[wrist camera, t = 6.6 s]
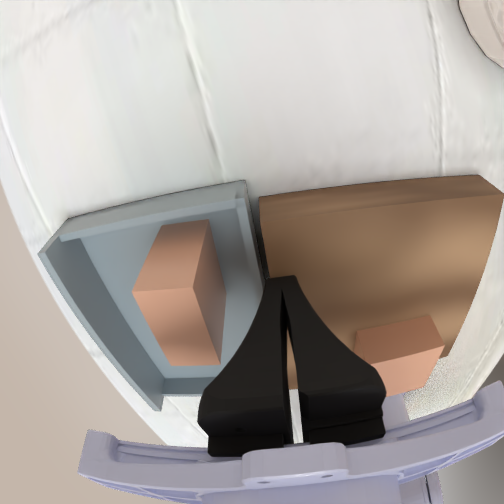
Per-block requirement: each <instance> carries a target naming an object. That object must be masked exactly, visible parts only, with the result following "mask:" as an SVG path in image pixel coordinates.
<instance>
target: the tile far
mask: <svg viewBox="0 0 504 504" xmlns="http://www.w3.org/2000/svg"><path fill="white" fill-rule="evenodd" d="M444 346H445V344H444V342H443V340H442V338H441V336H440V334H439V332H438V330H437V328H436V326H435V324H434V322H433V320H432V318H431V316H430V315H428V316H424V317H420V318H416V319H411V320H407V321H402V322H398V323H393V324H389V325H384V326H379V327H374V328H369V329H364V330H358V331H357V333H356V340H355V348H354V353H355V354H356V355H358V356H359V357H360V358H361V359H363V360H364V361H366V362H367V363H368V364H370V365H371V366H373V367H374V368H376V370H377V371H378V373H379V375H380V377H381V378H382V380H383V383H384V385H385V387H386V391H387V394H386V397H389V396H393V395H397V394H400V393H404V392H408V391H411V390H415V389H418V388H422V387H424V385H425V383H426V381H427V380H428V378H429V376H430V374H431V372H432V370H433V368H434V367H435V365H436V363H437V361H438V359H439V357H440V355H441V353H442V351H443V348H444Z"/></svg>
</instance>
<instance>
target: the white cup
mask: <svg viewBox="0 0 504 504" xmlns="http://www.w3.org/2000/svg"><path fill="white" fill-rule="evenodd" d="M459 5H460V10H461V12H462V14H463V17H464V19H465V22H466V24H467V26H468V29H469V31H470V34H471V35H472V37H473V38H474V39H475V41H476V42H477V43H478V45H479V46H480V48H481V49H482V50H483V52H484V53H485V55H486V56H487V57H489V58H490V59H491V60H493V61H494V62H496V63H497V64H498V65H500V66H501V67H502V68H504V0H459Z"/></svg>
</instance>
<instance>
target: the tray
mask: <svg viewBox="0 0 504 504" xmlns="http://www.w3.org/2000/svg"><path fill="white" fill-rule="evenodd" d="M205 219H209V222H210V227H211V231H212V235H213V240H214V244H215V248H216V252H217V256H218V261H219V265H220V269H221V273H222V277H223V281H224V285H225V289H226V293H227V295H226V306H225V318H224V329H223V341H222V353H221V365H202V366H171V365H170V363H169V361H168V360H167V358H166V356H165V354H164V353H163V351H162V349H161V347H160V346H159V344H158V342H157V340H156V338H155V337H154V335H153V333H152V331H151V329H150V327H149V325H148V323H147V322H146V320H145V318H144V316H143V314H142V312H141V310H140V308H139V306H138V304H137V302H136V300H135V298H134V296H133V294H132V290H133V287H134V285H135V283H136V280H137V278H138V276H139V273H140V271H141V269H142V266H143V264H144V262H145V260H146V258H147V255H148V253H149V251H150V249H151V247H152V244H153V242H154V240H155V238H156V236H157V234H158V232H159V230H160V228H161V226H162V225H168V224H175V223H182V222H189V221H197V220H205ZM38 256H39V258H40V260H41V261H42V263H43V265H44V267H45V268H46V270H47V272H48V273H49V275H50V277H51V278H52V280H53V282H54V283H55V285H56V287H57V288H58V290H59V291H60V293H61V294H62V296H63V297H64V299H65V301H66V302H67V304H68V305H69V307H70V308H71V310H72V311H73V312H74V314H75V315H76V317H77V318H78V320H79V321H80V322H81V324H82V325H83V327H84V328H85V329H86V331H87V332H88V334H89V335H90V336H91V338H92V339H93V340H94V342H95V343H96V344H97V345H98V347H99V348H100V349H101V351H102V352H103V353H104V354H105V356H106V357H107V358H108V359H109V361H110V362H111V363H112V364H113V365H114V367H115V368H116V369H117V370H118V371H119V373H120V374H121V375H122V376H123V377H124V378H125V380H126V381H127V382H128V383H129V384H130V385H131V386H132V387H133V389H134V390H135V391H136V392H137V393H138V394H139V395H140V396H141V397H142V398H143V399H144V400H145V402H146V403H147V404H148V405H149V406H150V407H151V408H152V409H153V410H154V411H161V409H162V404H163V398H164V396H202V394H203V391H204V389H205V388H206V387H207V386H208V385H209V384H210V383H211V382H212V381H213V380H214V379H215V378H216V376H217V375H218V374H219V373H220V372H221V371H222V370H223V368H224V367H225V366H226V365H227V363H228V362H229V361H230V359H231V358H232V357H233V355H234V354H235V352H236V351H237V349H238V348H239V346H240V345H241V343H242V341H243V340H244V338H245V336H246V334H247V332H248V330H249V328H250V326H251V324H252V322H253V319H254V317H255V315H256V312H257V310H258V307H259V304H260V301H261V298H262V295H263V291H264V286H265V279H264V274H263V269H262V264H261V259H260V254H259V249H258V243H257V238H256V233H255V228H254V223H253V218H252V213H251V208H250V203H249V198H248V193H247V188H246V183H245V180H242V181H236V182H230V183H225V184H219V185H213V186H208V187H203V188H197V189H192V190H187V191H182V192H177V193H172V194H167V195H163V196H158V197H154V198H149V199H145V200H140V201H136V202H131V203H127V204H123V205H119V206H115V207H111V208H107V209H103V210H99V211H95V212H91V213H87V214H84V215H80V216H76V217H73V218H69V219H67V220H66V221H65V222H64V223H63V225H62V226H61V227H60V228H59V229H58V230H57V231H56V232H55V234H54V235H53V236H52V237H51V238H50V239H49V241H48V242H47V243H46V244H45V245H44V247H43V248H42V249H41V250H40V251H39V253H38Z"/></svg>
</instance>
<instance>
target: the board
mask: <svg viewBox="0 0 504 504" xmlns="http://www.w3.org/2000/svg"><path fill="white" fill-rule="evenodd" d="M503 199H504V193H502V192H501V191H500V190H499V189H497V188H496V187H495V186H493V185H492V184H491V183H489V182H488V181H487V180H485V179H484V178H483V177H481V176H480V175H468V176H450V177H434V178H421V179H408V180H396V181H386V182H375V183H365V184H356V185H347V186H338V187H330V188H322V189H314V190H306V191H299V192H291V193H284V194H277V195H270V196H264V197H259V210H260V225H261V230H262V236H263V241H264V247H265V252H266V258H267V264H268V269H269V275H270V278H276V277H283V276H290V275H295V276H296V277H297V280H298V283H299V285H300V287H301V289H302V291H303V293H304V295H305V296H306V298H307V300H308V301H309V303H310V304H311V306H312V307H313V309H314V310H315V312H316V313H317V314H318V316H319V317H320V318H321V320H322V321H323V322H324V323H325V325H326V326H327V327H328V328H329V329H330V330H331V331H332V332H333V333H334V335H335V336H336V337H337V338H338V339H339V340H340V341H342V342H343V343H344V344H345V345H346V346H347V347H348V348H349V349H350V350H351V351H353V352H354V348H355V340H356V333H357V331H358V330H364V329H369V328H374V327H379V326H384V325H389V324H393V323H398V322H402V321H407V320H411V319H416V318H420V317H424V316H428V315H430V316H431V318H432V320H433V322H434V324H435V326H436V328H437V330H438V332H439V334H440V336H441V338H442V340H443V342H444V344H445V346H444V348H443V351H442V353H441V355H440V357H439V358H443V357H446V356H448V354H449V352H450V350H451V348H452V346H453V344H454V342H455V340H456V338H457V336H458V334H459V332H460V329H461V327H462V325H463V323H464V321H465V318H466V316H467V314H468V311H469V309H470V307H471V304H472V302H473V299H474V297H475V294H476V291H477V289H478V286H479V283H480V281H481V278H482V275H483V272H484V269H485V266H486V263H487V260H488V257H489V254H490V250H491V247H492V243H493V240H494V236H495V233H496V229H497V225H498V221H499V217H500V212H501V208H502V203H503ZM287 373H288V385H289V390H291V389H298V384H297V374H296V365H295V361H294V356H293V351H292V347H291V342H290V337H289V333H288V328H287Z"/></svg>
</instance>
